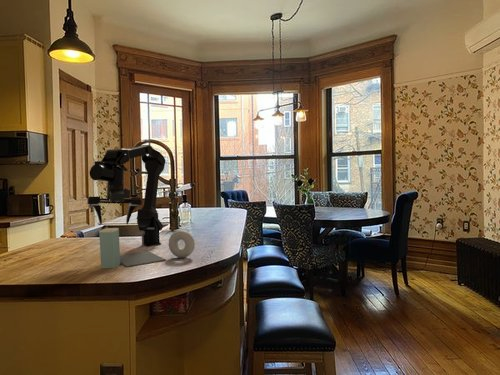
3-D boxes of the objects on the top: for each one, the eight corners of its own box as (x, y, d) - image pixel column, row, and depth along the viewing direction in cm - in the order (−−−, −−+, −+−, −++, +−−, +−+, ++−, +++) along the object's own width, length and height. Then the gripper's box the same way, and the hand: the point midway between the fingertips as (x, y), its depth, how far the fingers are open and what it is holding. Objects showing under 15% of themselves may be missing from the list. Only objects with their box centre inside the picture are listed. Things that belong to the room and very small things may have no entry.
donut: (196, 257, 133) (195, 229, 133) (192, 259, 130) (191, 231, 130) (171, 256, 136) (170, 229, 136) (167, 258, 133) (166, 230, 132)
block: (107, 264, 127) (106, 228, 126) (120, 264, 126) (118, 228, 125) (101, 268, 122) (99, 230, 121) (114, 268, 122) (112, 230, 121)
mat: (148, 252, 144) (148, 251, 144) (165, 260, 130) (165, 259, 130) (112, 257, 137) (112, 256, 137) (126, 267, 122) (126, 266, 122)
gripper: (89, 179, 127) (88, 225, 126) (145, 182, 136) (144, 224, 135) (87, 182, 137) (86, 224, 136) (139, 183, 146) (138, 223, 145)
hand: (114, 224), depth 138 cm, fingers open, 9 cm apart
